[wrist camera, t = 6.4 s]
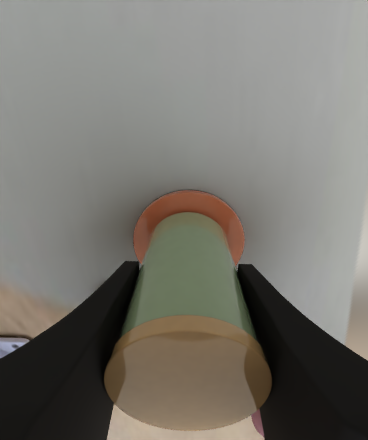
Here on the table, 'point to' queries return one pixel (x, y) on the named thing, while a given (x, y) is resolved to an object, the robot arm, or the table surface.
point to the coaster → (189, 203)
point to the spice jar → (188, 334)
